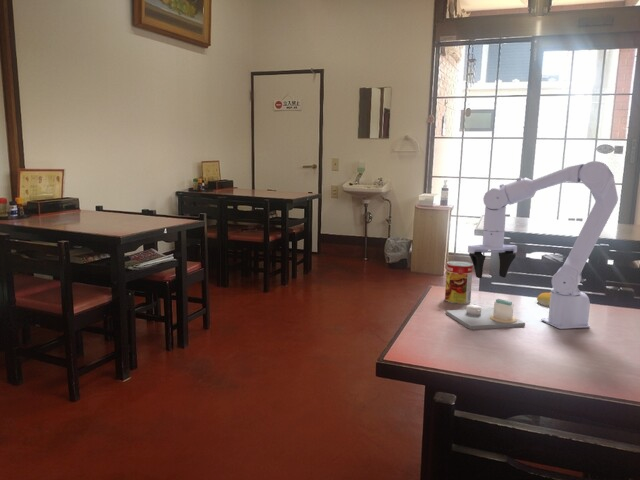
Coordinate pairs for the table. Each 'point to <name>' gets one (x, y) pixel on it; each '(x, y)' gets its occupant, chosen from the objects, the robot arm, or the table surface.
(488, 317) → the post board
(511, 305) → the cap
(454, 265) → the canned food
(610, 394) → the table surface
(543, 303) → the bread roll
